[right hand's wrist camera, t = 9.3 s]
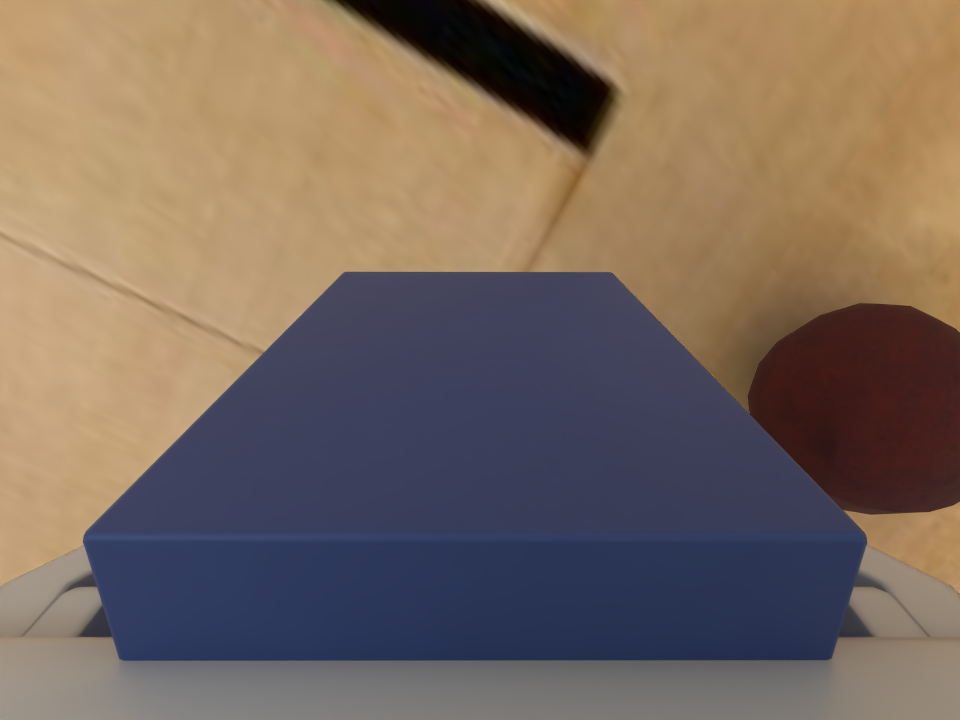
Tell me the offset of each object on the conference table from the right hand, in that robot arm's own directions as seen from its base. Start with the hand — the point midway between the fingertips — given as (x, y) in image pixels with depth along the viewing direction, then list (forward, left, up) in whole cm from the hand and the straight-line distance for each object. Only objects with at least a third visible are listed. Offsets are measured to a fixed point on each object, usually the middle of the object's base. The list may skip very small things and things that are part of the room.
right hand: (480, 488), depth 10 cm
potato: (+3, +14, -13) cm, 19 cm away
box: (+11, 0, -4) cm, 11 cm away
